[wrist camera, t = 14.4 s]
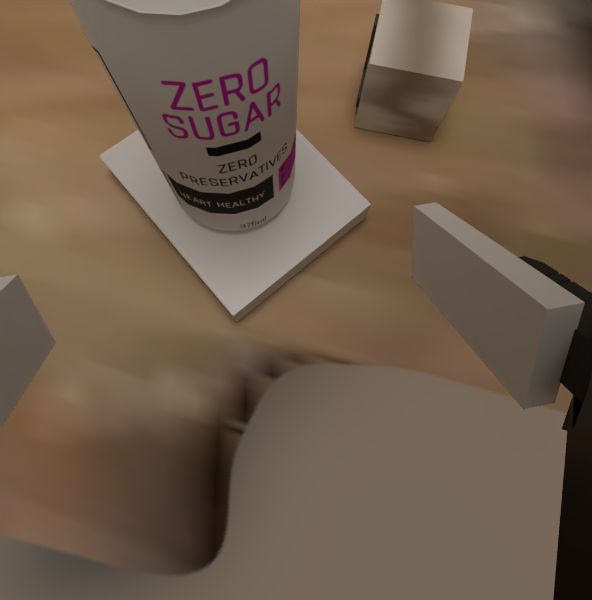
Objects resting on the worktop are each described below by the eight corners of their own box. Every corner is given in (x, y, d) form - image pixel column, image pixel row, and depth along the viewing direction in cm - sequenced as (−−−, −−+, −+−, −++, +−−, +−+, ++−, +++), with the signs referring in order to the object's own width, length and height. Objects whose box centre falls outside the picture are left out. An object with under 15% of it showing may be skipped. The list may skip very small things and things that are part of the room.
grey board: (365, 217, 29) (370, 204, 27) (237, 322, 27) (233, 316, 25) (237, 86, 32) (233, 65, 30) (111, 172, 29) (98, 156, 28)
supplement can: (233, 109, 29) (178, -191, 14) (318, 178, 27) (352, -71, 13) (150, 182, 27) (-9, -71, 13) (235, 259, 26) (168, 79, 11)
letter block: (439, 79, 32) (472, 8, 26) (430, 142, 31) (463, 81, 25) (364, 65, 32) (381, -9, 27) (351, 126, 31) (366, 62, 25)
